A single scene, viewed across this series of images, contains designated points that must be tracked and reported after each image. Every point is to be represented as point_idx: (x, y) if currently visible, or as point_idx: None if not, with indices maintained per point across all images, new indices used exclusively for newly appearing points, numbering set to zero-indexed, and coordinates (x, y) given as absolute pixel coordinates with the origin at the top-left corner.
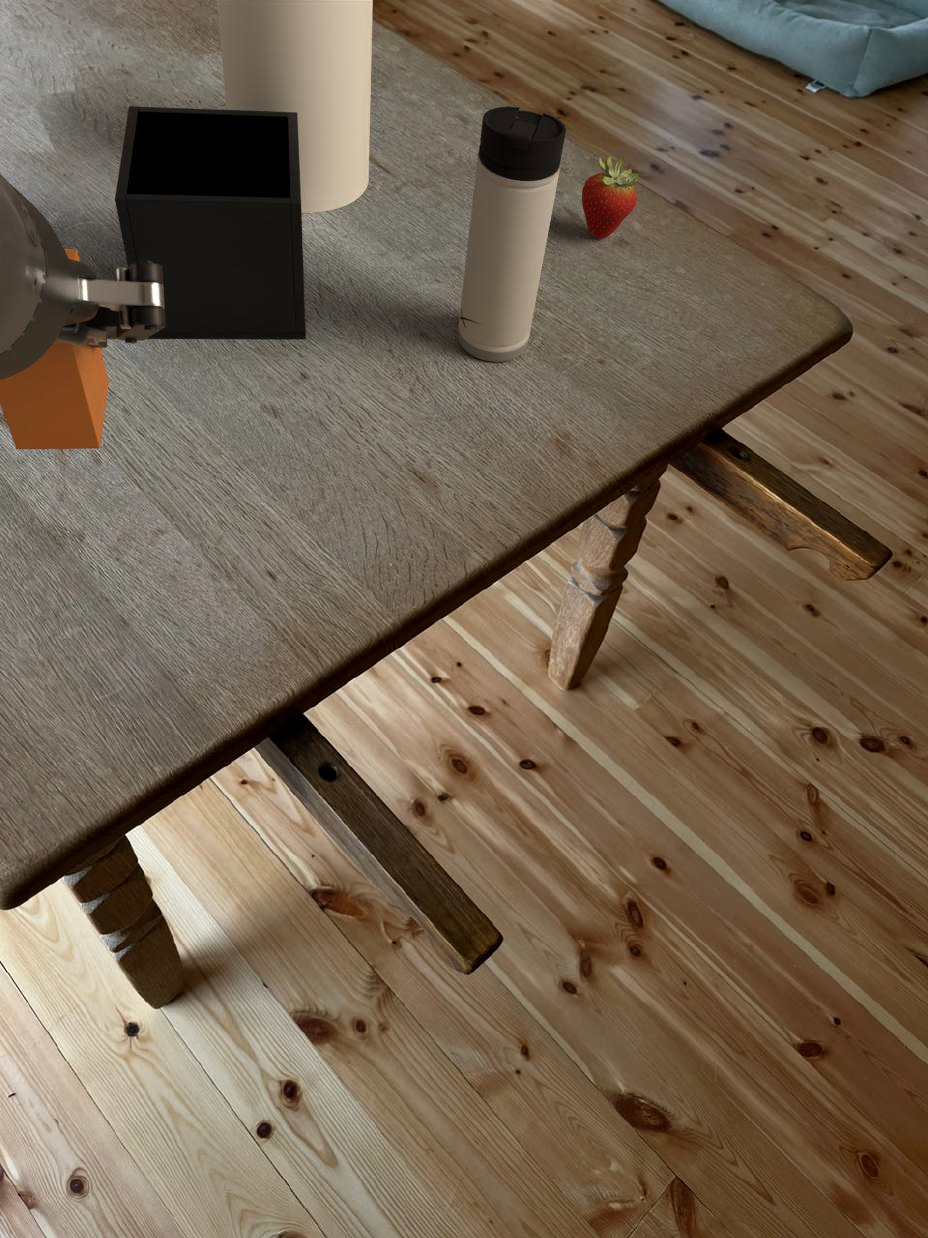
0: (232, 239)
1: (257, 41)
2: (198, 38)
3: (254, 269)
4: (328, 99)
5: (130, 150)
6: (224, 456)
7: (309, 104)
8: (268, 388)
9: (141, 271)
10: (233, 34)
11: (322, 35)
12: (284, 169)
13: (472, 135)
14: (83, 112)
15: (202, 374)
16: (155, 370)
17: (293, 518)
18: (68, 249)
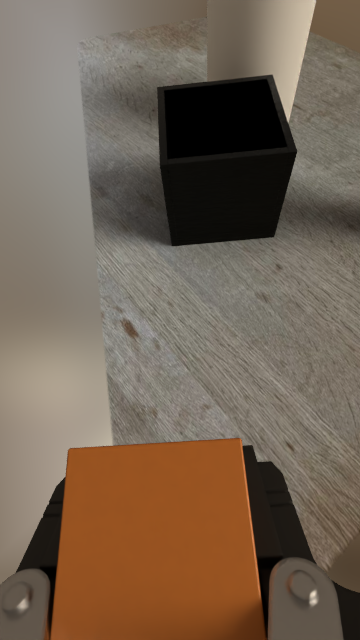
0: (239, 182)
1: (240, 22)
2: (174, 39)
3: (250, 200)
4: (283, 62)
5: (164, 122)
6: (238, 337)
7: (271, 67)
8: (257, 278)
9: None
10: (221, 21)
11: (290, 8)
12: (257, 119)
13: (345, 75)
14: (119, 94)
15: (213, 270)
16: (183, 270)
17: (295, 391)
18: (224, 440)
